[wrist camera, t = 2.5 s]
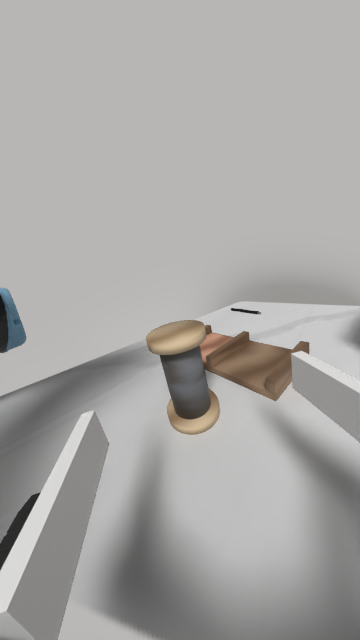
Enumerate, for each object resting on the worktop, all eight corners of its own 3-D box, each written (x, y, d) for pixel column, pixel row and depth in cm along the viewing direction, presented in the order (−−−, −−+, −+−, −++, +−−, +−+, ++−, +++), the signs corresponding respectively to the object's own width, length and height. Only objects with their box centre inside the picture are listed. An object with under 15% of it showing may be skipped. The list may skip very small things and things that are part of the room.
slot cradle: (174, 355, 40) (171, 343, 40) (209, 335, 47) (207, 324, 46) (276, 401, 23) (274, 381, 22) (309, 358, 29) (309, 342, 28)
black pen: (261, 314, 54) (261, 311, 54) (259, 315, 54) (259, 312, 54) (232, 310, 65) (232, 307, 65) (230, 311, 64) (230, 308, 64)
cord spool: (159, 413, 25) (136, 336, 21) (194, 386, 29) (179, 317, 25) (192, 446, 19) (167, 350, 16) (230, 407, 23) (217, 323, 20)
